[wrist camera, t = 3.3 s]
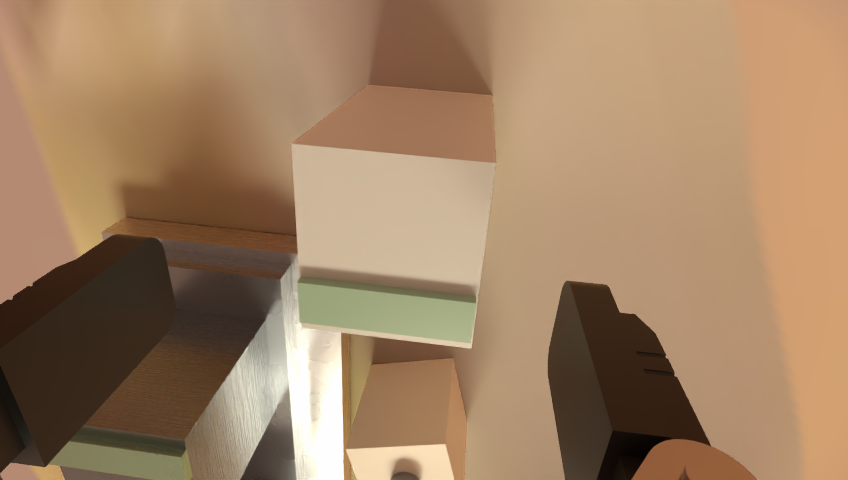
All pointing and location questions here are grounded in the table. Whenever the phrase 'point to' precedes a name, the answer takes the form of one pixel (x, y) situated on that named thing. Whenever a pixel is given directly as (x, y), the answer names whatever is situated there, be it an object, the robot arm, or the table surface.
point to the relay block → (410, 423)
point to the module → (395, 214)
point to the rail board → (224, 373)
